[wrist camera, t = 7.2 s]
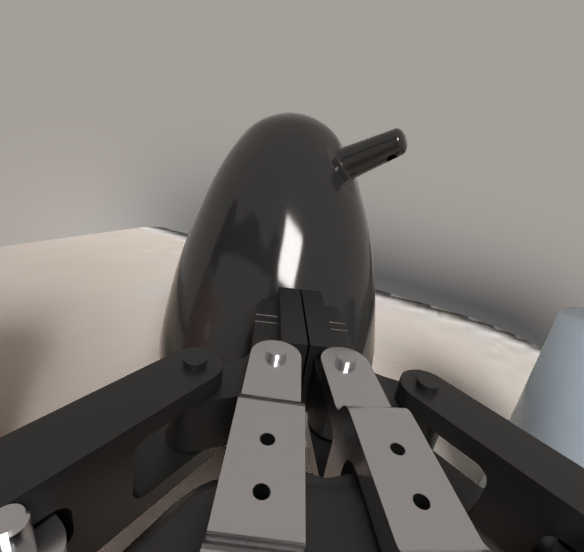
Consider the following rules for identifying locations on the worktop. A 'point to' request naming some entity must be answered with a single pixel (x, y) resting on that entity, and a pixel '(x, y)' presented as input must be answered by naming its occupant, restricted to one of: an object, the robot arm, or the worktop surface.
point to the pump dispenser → (278, 236)
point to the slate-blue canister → (557, 390)
